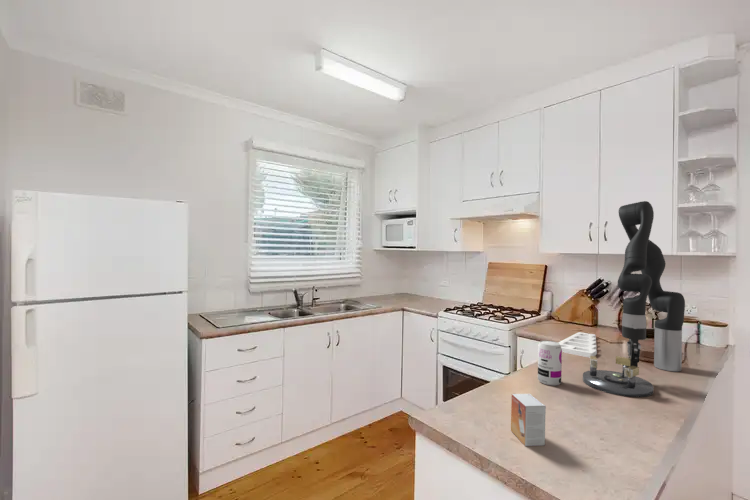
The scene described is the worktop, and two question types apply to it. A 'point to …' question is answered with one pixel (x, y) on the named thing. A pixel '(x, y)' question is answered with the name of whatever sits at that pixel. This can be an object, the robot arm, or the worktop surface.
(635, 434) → the worktop surface
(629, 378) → the knob
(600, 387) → the base
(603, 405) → the worktop surface
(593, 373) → the knob
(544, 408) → the small box
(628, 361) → the knob near
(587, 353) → the holder
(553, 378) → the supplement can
